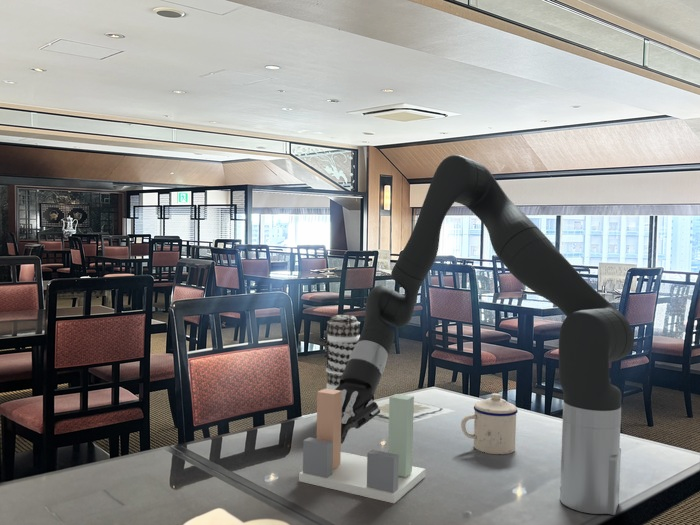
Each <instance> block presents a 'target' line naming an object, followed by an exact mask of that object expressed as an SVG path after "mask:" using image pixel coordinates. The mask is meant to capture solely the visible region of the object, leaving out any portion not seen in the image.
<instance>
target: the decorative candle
mask: <svg viewBox="0 0 700 525" xmlns="http://www.w3.org/2000/svg"><path fill="white" fill-rule="evenodd" d="M326 323H327V324H328V333H327V337H326V338H324V341H323V343H325V345H326V346H325V347H324V352H325V353H324V354H325V355H324V358H325V359H326V361H325V362H324V364H325V365H324V366H325V372H326V373H327V376H326V377H327V380H326V389H333V390H335V389H336V388H337V387H338V386H339V383H340V379H341V376H342V374H343V371H344V369H345V367H346V364H347V362H348V360H349V357H350V355H351V353H352V351H353V349H354V348H355V346H356V344H357V342H358V340H359V337H360V335H361V334H360V324H361V321H358V319H357V317H356V316H355V315H351V314H350V315H349V314H337V315H333V316H331V317H330V320H328V321H327V322H326Z"/></svg>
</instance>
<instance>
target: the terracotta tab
mask: <svg viewBox="0 0 700 525" xmlns="http://www.w3.org/2000/svg"><path fill="white" fill-rule="evenodd" d="M316 398H317V399H316V409H317V410H316V439H320V440H326V441H331V442H333V457H332V470H333V469H334V468H336V467H337V466H339V465H340V458H341V452H342V450H341V449H342V447H341V446H342V444H341V407H342V391H340V390H333V389H327V387H326V388H323V389H320V390H318V391H317V396H316Z"/></svg>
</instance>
